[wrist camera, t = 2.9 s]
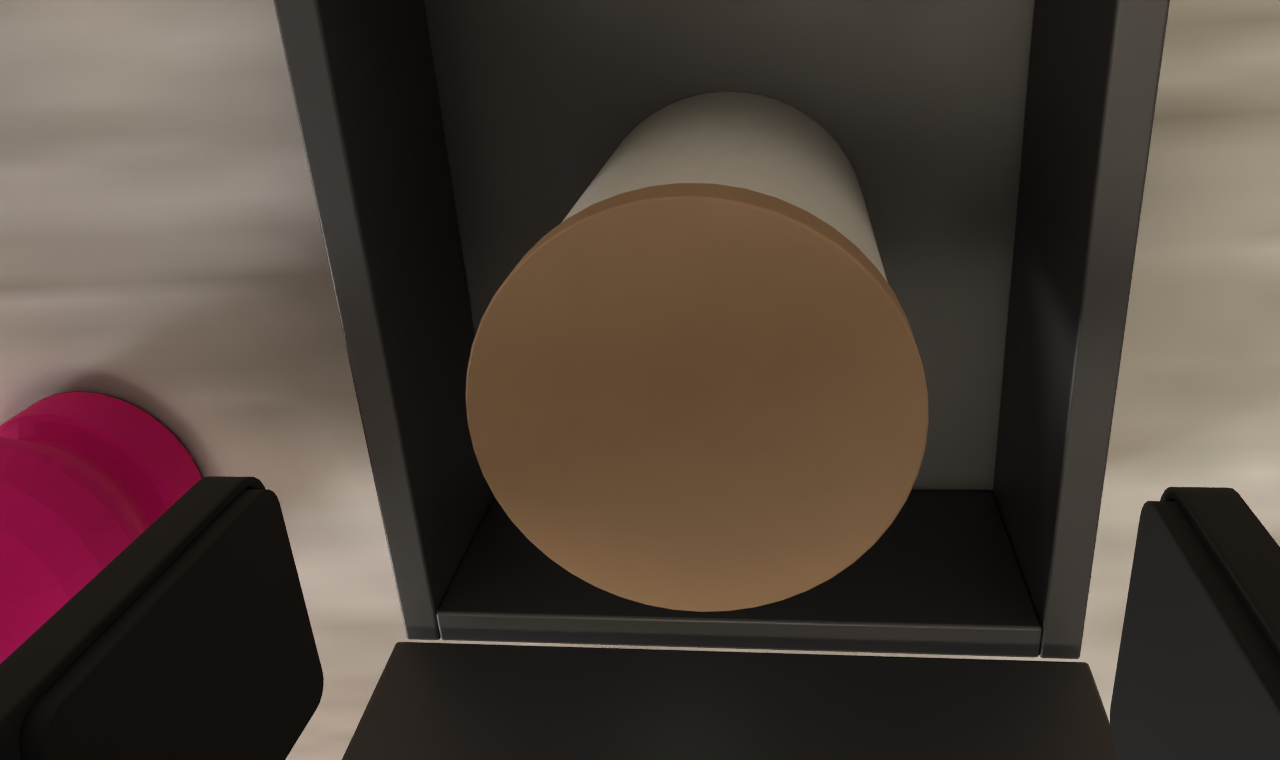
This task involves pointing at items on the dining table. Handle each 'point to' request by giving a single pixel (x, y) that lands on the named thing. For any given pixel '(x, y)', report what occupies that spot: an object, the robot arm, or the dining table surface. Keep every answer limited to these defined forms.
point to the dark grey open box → (904, 232)
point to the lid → (724, 706)
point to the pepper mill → (76, 499)
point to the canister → (703, 367)
